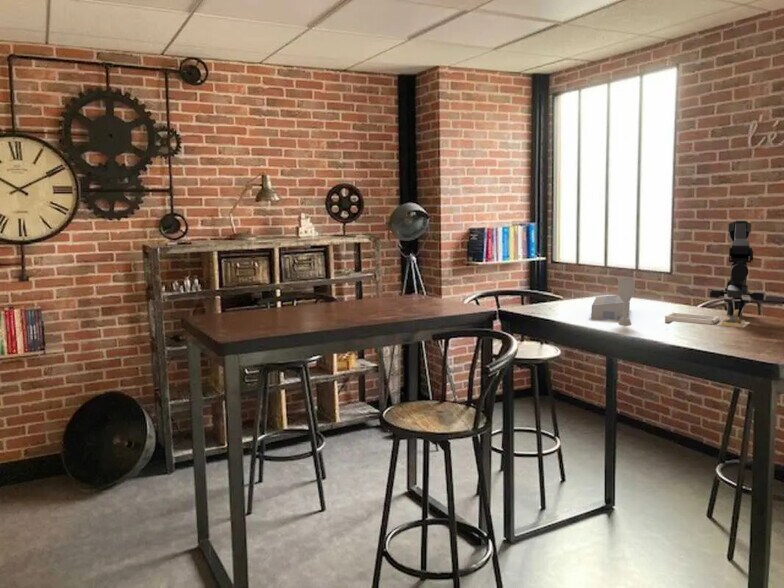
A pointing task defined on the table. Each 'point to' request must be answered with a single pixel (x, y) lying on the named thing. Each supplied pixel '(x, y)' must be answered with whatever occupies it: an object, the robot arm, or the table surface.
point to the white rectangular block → (732, 319)
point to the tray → (691, 318)
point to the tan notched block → (737, 322)
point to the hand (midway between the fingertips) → (736, 316)
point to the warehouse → (609, 307)
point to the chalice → (626, 296)
